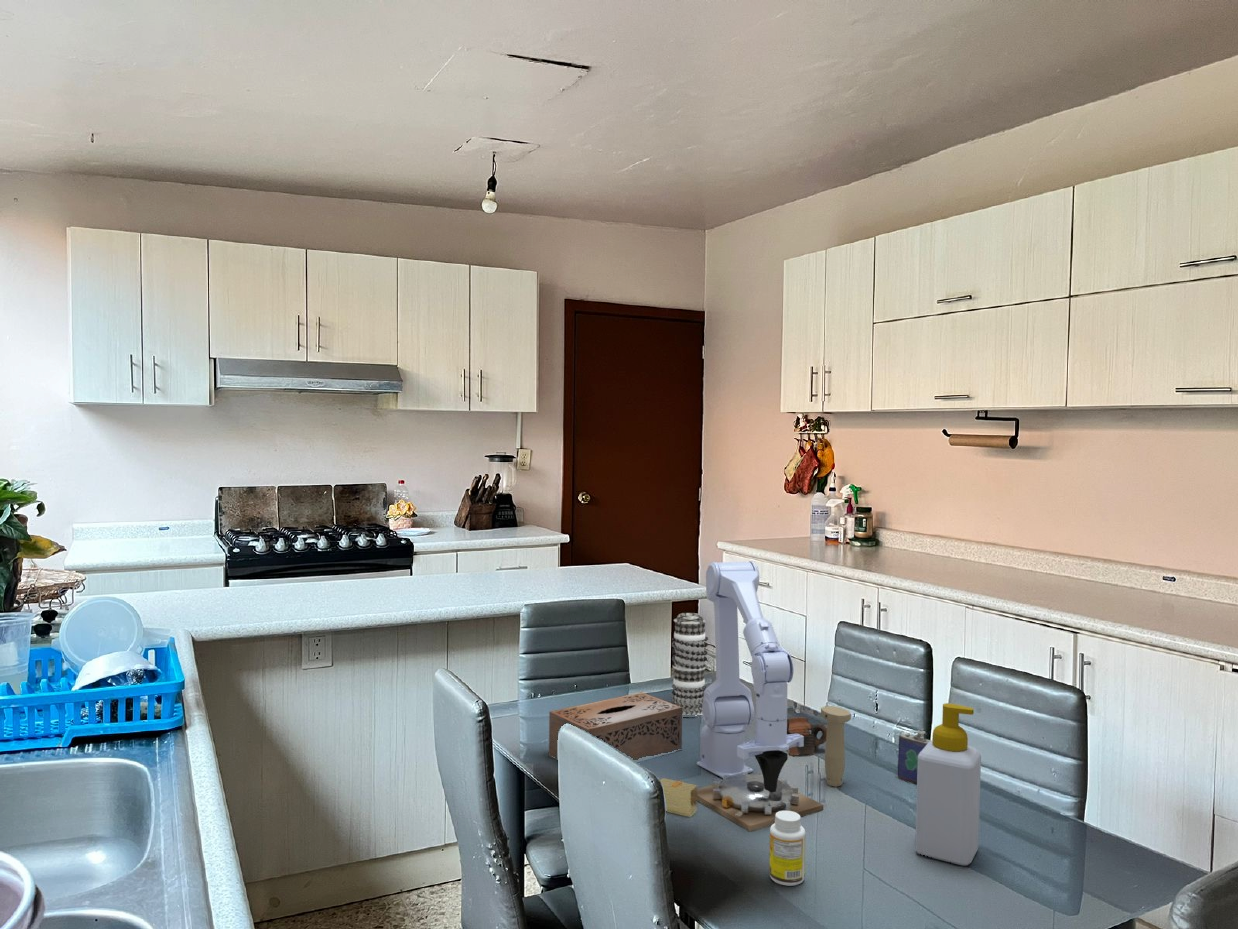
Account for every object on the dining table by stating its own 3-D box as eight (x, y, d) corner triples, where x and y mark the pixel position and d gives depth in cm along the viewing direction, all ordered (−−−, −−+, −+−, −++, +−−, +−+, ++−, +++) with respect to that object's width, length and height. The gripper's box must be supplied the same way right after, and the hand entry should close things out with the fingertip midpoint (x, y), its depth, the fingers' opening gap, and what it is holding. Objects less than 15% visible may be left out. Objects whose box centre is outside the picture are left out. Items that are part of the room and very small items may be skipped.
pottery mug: (776, 758, 197) (769, 720, 201) (782, 764, 205) (776, 727, 209) (831, 749, 194) (822, 711, 198) (835, 755, 203) (827, 718, 206)
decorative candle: (708, 719, 222) (710, 618, 221) (671, 718, 222) (672, 618, 221) (705, 707, 231) (707, 611, 230) (669, 707, 231) (671, 610, 230)
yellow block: (655, 809, 168) (656, 782, 168) (662, 804, 171) (663, 777, 171) (690, 817, 165) (690, 789, 165) (696, 811, 168) (697, 784, 167)
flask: (944, 786, 181) (945, 734, 181) (939, 790, 179) (940, 737, 179) (900, 774, 187) (901, 724, 187) (894, 779, 185) (895, 727, 185)
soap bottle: (969, 869, 146) (973, 717, 146) (913, 855, 151) (917, 707, 150) (979, 848, 154) (984, 703, 153) (926, 835, 159) (929, 694, 158)
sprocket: (697, 800, 169) (697, 777, 169) (734, 773, 183) (734, 751, 183) (779, 822, 160) (779, 797, 160) (811, 791, 174) (812, 769, 174)
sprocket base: (689, 796, 174) (689, 790, 174) (759, 778, 184) (759, 772, 184) (749, 831, 159) (750, 825, 159) (823, 810, 169) (823, 803, 169)
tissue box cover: (587, 777, 184) (588, 729, 183) (548, 757, 195) (549, 711, 195) (681, 752, 200) (682, 707, 199) (640, 734, 211) (641, 692, 211)
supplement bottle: (780, 866, 146) (781, 805, 146) (810, 878, 143) (812, 814, 143) (762, 879, 142) (763, 816, 142) (793, 891, 139) (795, 826, 138)
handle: (834, 792, 178) (836, 717, 177) (814, 780, 183) (816, 707, 183) (854, 788, 180) (855, 714, 179) (833, 776, 185) (834, 705, 185)
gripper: (755, 728, 158) (754, 805, 159) (815, 717, 166) (814, 790, 166) (730, 718, 164) (729, 792, 165) (789, 707, 172) (788, 778, 172)
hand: (770, 790), depth 166 cm, fingers closed, pressing on sprocket
